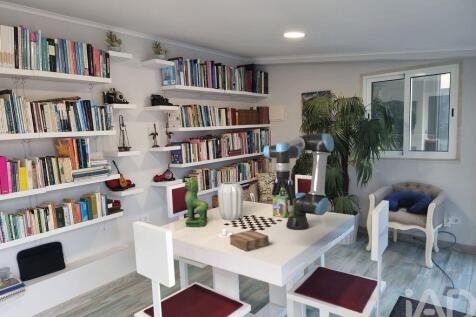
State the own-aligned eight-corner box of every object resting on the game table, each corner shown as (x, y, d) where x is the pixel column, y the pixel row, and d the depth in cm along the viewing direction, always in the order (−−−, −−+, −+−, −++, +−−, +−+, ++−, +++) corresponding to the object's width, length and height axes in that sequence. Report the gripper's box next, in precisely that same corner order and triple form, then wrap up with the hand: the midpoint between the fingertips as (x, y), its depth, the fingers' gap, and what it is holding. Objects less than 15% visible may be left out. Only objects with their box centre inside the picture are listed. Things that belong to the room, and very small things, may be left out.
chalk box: (285, 219, 183) (285, 192, 182) (272, 216, 189) (271, 190, 188) (295, 215, 190) (294, 189, 189) (281, 213, 196) (281, 188, 195)
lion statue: (187, 222, 248) (186, 175, 246) (209, 222, 247) (208, 175, 244) (183, 227, 235) (181, 178, 232) (206, 227, 234) (205, 177, 231)
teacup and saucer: (234, 235, 215) (234, 229, 214) (225, 238, 209) (225, 232, 209) (224, 233, 221) (224, 227, 220) (216, 236, 215) (215, 230, 214)
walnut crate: (251, 239, 207) (251, 229, 207) (269, 246, 194) (268, 236, 193) (229, 244, 198) (229, 234, 197) (246, 252, 184) (246, 241, 184)
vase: (234, 222, 244) (234, 185, 242) (213, 219, 254) (212, 184, 252) (248, 216, 260) (247, 182, 258) (227, 214, 270) (226, 180, 268)
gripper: (264, 169, 194) (265, 207, 196) (292, 172, 176) (293, 214, 178) (274, 168, 199) (275, 205, 201) (302, 171, 181) (302, 211, 183)
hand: (283, 209), depth 189 cm, fingers closed on chalk box, 10 cm apart
